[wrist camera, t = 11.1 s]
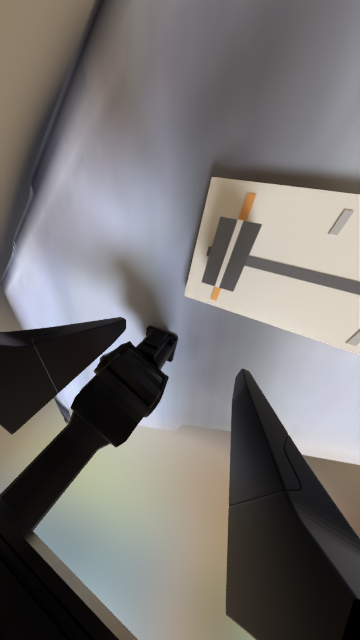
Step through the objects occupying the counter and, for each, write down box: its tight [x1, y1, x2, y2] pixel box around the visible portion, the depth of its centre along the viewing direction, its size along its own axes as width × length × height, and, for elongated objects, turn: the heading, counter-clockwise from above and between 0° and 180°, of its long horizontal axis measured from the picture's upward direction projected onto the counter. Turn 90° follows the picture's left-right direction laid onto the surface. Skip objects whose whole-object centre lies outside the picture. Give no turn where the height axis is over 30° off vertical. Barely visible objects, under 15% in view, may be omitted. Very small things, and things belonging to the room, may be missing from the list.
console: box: [184, 177, 360, 355], centre depth 14 cm, size 12×22×2 cm, turn 77°
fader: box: [202, 216, 262, 292], centre depth 12 cm, size 5×3×4 cm, turn 167°
